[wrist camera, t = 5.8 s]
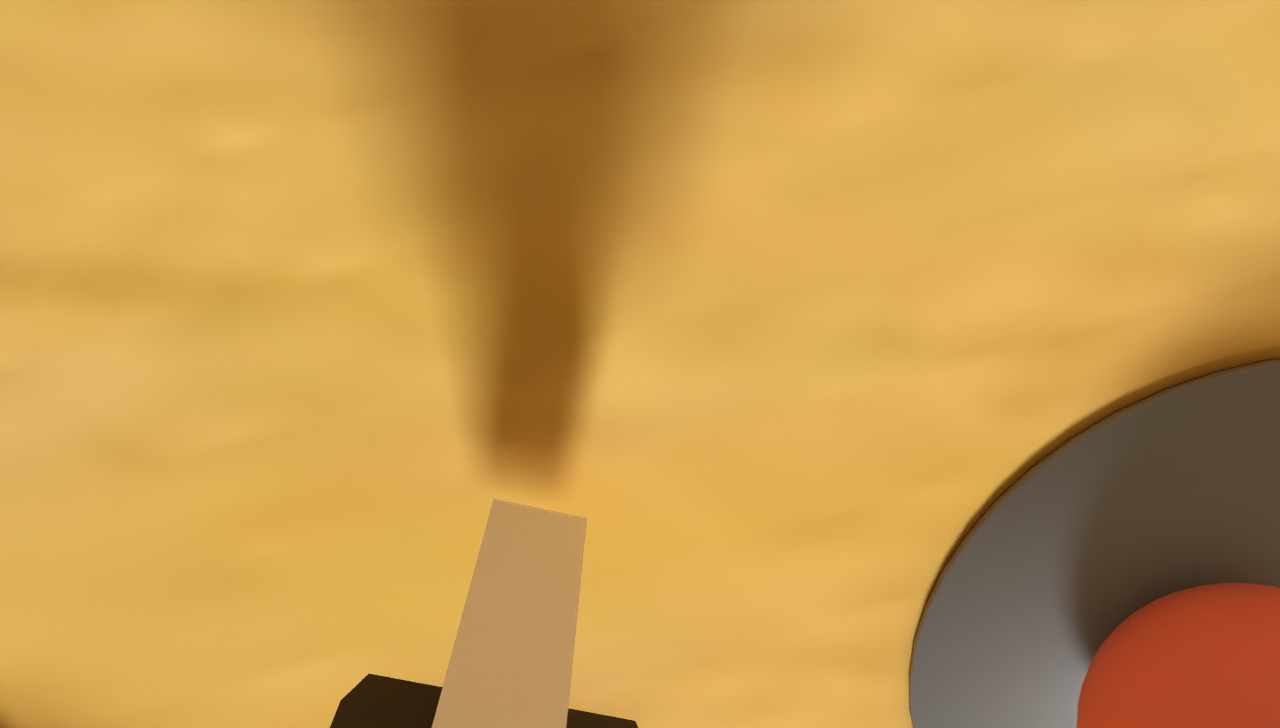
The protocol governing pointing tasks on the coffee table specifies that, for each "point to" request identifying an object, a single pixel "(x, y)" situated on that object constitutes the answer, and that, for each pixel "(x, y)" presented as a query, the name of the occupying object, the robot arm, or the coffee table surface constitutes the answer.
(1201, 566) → the disc
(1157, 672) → the ball
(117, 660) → the coffee table surface
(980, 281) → the coffee table surface
